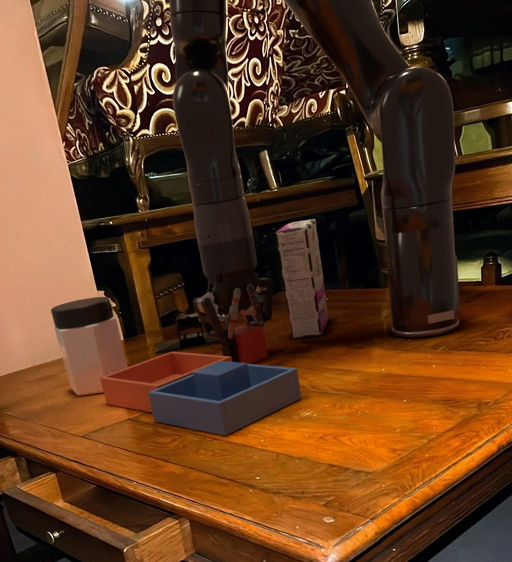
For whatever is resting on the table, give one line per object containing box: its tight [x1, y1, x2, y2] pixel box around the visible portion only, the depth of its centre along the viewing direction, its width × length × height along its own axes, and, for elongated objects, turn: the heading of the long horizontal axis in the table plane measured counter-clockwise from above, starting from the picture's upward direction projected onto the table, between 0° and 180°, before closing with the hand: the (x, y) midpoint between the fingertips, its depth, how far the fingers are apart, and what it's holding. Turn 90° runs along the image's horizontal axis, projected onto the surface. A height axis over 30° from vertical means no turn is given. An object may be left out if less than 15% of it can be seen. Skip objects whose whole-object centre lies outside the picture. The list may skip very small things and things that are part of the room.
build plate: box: [154, 312, 221, 355], centre depth 117 cm, size 12×7×5 cm, turn 94°
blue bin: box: [148, 363, 302, 437], centre depth 79 cm, size 12×12×4 cm
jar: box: [50, 296, 129, 396], centre depth 98 cm, size 9×8×12 cm
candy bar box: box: [275, 218, 330, 339], centre depth 109 cm, size 11×5×16 cm, turn 168°
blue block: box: [192, 361, 251, 401], centre depth 79 cm, size 4×4×4 cm
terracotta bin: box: [100, 351, 232, 414], centre depth 90 cm, size 12×12×4 cm
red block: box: [234, 325, 268, 364], centre depth 99 cm, size 4×4×4 cm
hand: (245, 358), depth 100 cm, fingers closed on red block, 4 cm apart
